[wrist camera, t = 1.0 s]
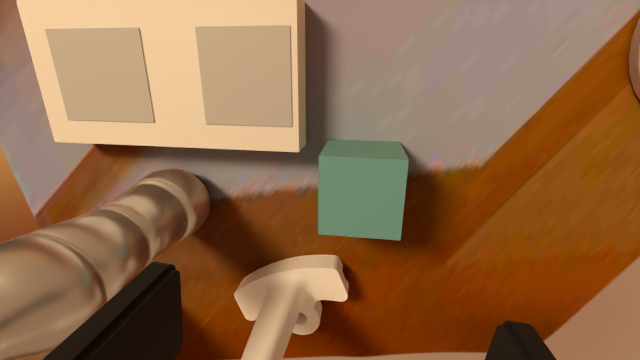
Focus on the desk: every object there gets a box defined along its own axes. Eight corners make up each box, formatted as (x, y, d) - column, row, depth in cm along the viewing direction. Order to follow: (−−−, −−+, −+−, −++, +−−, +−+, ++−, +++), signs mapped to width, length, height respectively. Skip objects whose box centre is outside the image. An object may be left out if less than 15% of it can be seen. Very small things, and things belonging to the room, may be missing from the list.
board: (305, 2, 23) (296, -9, 20) (306, 144, 27) (298, 152, 24) (53, 8, 26) (14, 0, 23) (84, 135, 30) (53, 142, 27)
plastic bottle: (157, 154, 29) (-213, 292, 11) (224, 174, 29) (-39, 353, 10) (153, 212, 32) (-159, 412, 13) (215, 231, 31) (-14, 465, 12)
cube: (399, 141, 26) (408, 159, 20) (393, 207, 28) (400, 240, 22) (328, 139, 27) (318, 156, 21) (327, 202, 29) (318, 234, 23)
